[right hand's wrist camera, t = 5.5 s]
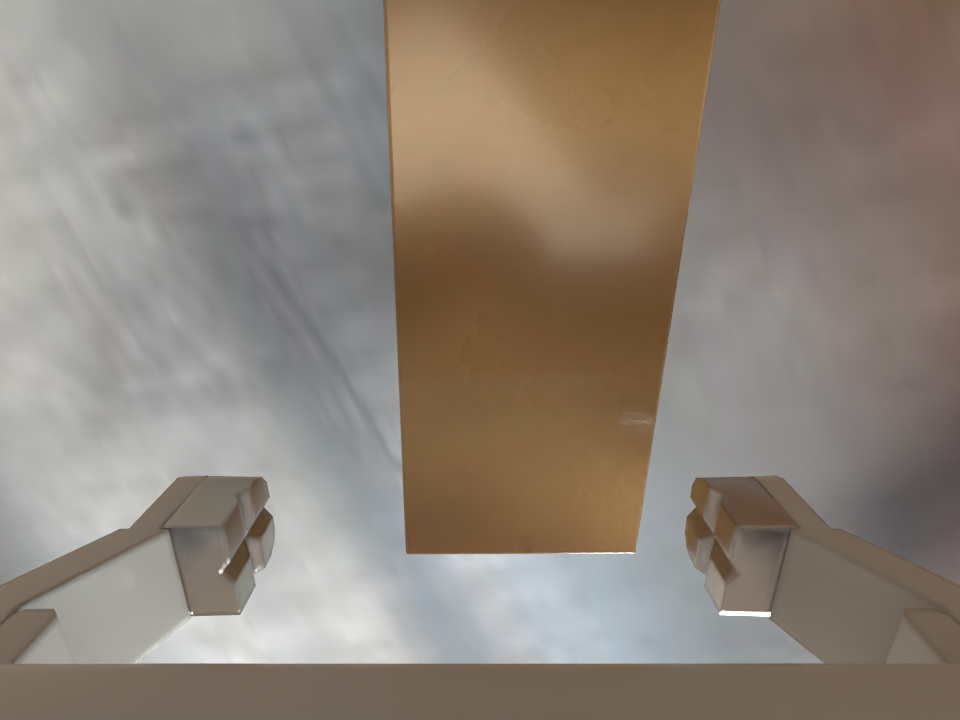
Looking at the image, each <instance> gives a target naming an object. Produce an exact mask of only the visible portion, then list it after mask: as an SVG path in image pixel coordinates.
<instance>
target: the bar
mask: <svg viewBox="0 0 960 720" xmlns="http://www.w3.org/2000/svg"><path fill="white" fill-rule="evenodd" d="M719 6H720V0H383V7H384V32H385V56H386V80H387V105H388V129H389V154H390V178H391V202H392V227H393V251H394V275H395V300H396V324H397V348H398V373H399V397H400V422H401V446H402V470H403V495H404V519H405V543H406V553H407V554H620V553H635V551H636V544H637V538H638V531H639V525H640V518H641V512H642V505H643V499H644V492H645V486H646V480H647V473H648V467H649V460H650V454H651V447H652V441H653V434H654V428H655V421H656V415H657V408H658V402H659V395H660V389H661V382H662V376H663V369H664V363H665V356H666V350H667V343H668V337H669V330H670V324H671V317H672V311H673V305H674V298H675V292H676V285H677V279H678V272H679V266H680V259H681V253H682V246H683V240H684V233H685V227H686V220H687V214H688V207H689V201H690V194H691V188H692V181H693V175H694V168H695V162H696V155H697V149H698V142H699V136H700V130H701V123H702V117H703V110H704V104H705V97H706V91H707V84H708V78H709V71H710V65H711V58H712V52H713V45H714V39H715V32H716V26H717V19H718V13H719Z"/></svg>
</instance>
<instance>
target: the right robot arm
mask: <svg viewBox="0 0 960 720" xmlns="http://www.w3.org/2000/svg"><path fill="white" fill-rule="evenodd" d="M269 497H270V496H269V491H268V486H267V482H266V481H265V480H264V479H263V478H262V477H235V476H210V477H209V476H183V477H179V478H177V479H176V480H175V481H174V482H173V483H172V484H171V485H170V486H169V487H168V488H167V489H166V490H165V492H164V493H163V494H162V495H161V496H160V497H159V498H158V499H157V500H156V501H155V502H154V503H153V504H152V505H151V506H150V507H149V508H148V509H147V510H146V511H145V513H144V514H143V515H142V516H141V517H140V518H139V519H138V520H137V521H136V522H135V523H134V524H133V525H132V526H131V527H130V528H129V529H119V530H117V531H115V532H113V533H110V534H108V535H106V536H104V537H102V538H100V539H98V540H96V541H93V542H91V543H89V544H87V545H85V546H83V547H81V548H79V549H76V550H74V551H72V552H70V553H68V554H66V555H64V556H62V557H60V558H57V559H55V560H53V561H51V562H49V563H47V564H45V565H43V566H40V567H38V568H36V569H34V570H32V571H30V572H28V573H26V574H23V575H21V576H19V577H17V578H15V579H13V580H11V581H9V582H7V583H4V584H2V585H0V720H960V585H957V584H955V583H953V582H951V581H949V580H947V579H945V578H943V577H940V576H938V575H936V574H934V573H932V572H930V571H928V570H926V569H924V568H921V567H919V566H917V565H915V564H913V563H911V562H909V561H907V560H905V559H902V558H900V557H898V556H896V555H894V554H892V553H890V552H888V551H886V550H883V549H881V548H879V547H877V546H875V545H873V544H871V543H869V542H866V541H864V540H862V539H860V538H858V537H856V536H854V535H852V534H850V533H847V532H845V531H843V530H841V529H831V528H830V527H829V526H828V525H827V524H826V523H825V522H824V521H823V520H822V519H821V518H820V517H819V516H818V515H817V514H816V512H815V511H814V510H813V509H812V508H811V507H810V506H809V505H808V504H807V503H806V502H805V501H804V500H803V499H802V498H801V497H800V496H799V495H798V494H797V492H796V491H795V490H794V489H793V488H792V487H791V486H790V485H789V484H788V483H787V482H786V481H785V480H784V479H783V478H781V477H779V476H776V475H775V476H750V477H715V478H696V479H695V481H694V483H693V485H692V490H691V496H690V497H691V499H692V500H693V502H694V504H695V505H696V508H695V509H694V510H693V511H692V512H691V513H690V514H689V515H688V516H687V521H686V529H685V535H686V546H687V549H688V553H689V556H690V559H691V561H692V563H693V565H694V567H695V568H696V569H698V570H699V571H701V572H702V573H704V574H705V575H706V580H705V585H704V586H705V588H706V590H707V591H708V593H709V595H710V597H711V599H712V601H713V603H714V605H715V606H716V608H717V610H718V612H719V614H720V615H747V616H770V617H769V619H771V620H772V621H773V622H774V623H776V624H777V625H778V626H779V627H780V628H782V629H783V630H784V631H785V632H787V633H788V634H789V635H790V636H792V637H793V638H794V639H795V640H796V641H798V642H799V643H800V644H801V645H803V646H804V647H805V648H806V649H808V650H809V651H810V652H811V653H812V654H814V655H815V656H816V657H817V658H819V659H820V660H821V661H822V662H823V663H825V664H135V663H137V662H138V661H139V660H140V659H142V658H143V657H144V656H145V655H147V654H148V653H149V652H150V651H151V650H153V649H154V648H155V647H156V646H158V645H159V644H160V643H161V642H163V641H164V640H165V639H166V638H167V637H169V636H170V635H171V634H172V633H174V632H175V631H176V630H177V629H179V628H180V627H181V626H182V625H183V624H185V623H186V622H187V621H188V620H190V616H212V615H240V614H241V612H242V610H243V608H244V607H245V605H246V603H247V601H248V599H249V597H250V595H251V593H252V591H253V590H254V588H255V586H256V585H255V580H254V575H255V574H256V573H258V572H259V571H261V570H262V569H264V568H265V567H266V565H267V563H268V560H269V558H270V556H271V553H272V549H273V544H274V532H275V527H274V521H273V516H272V515H271V514H270V513H269V512H268V511H267V510H266V509H265V508H264V505H265V504H266V502H267V500H268V499H269Z"/></svg>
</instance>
